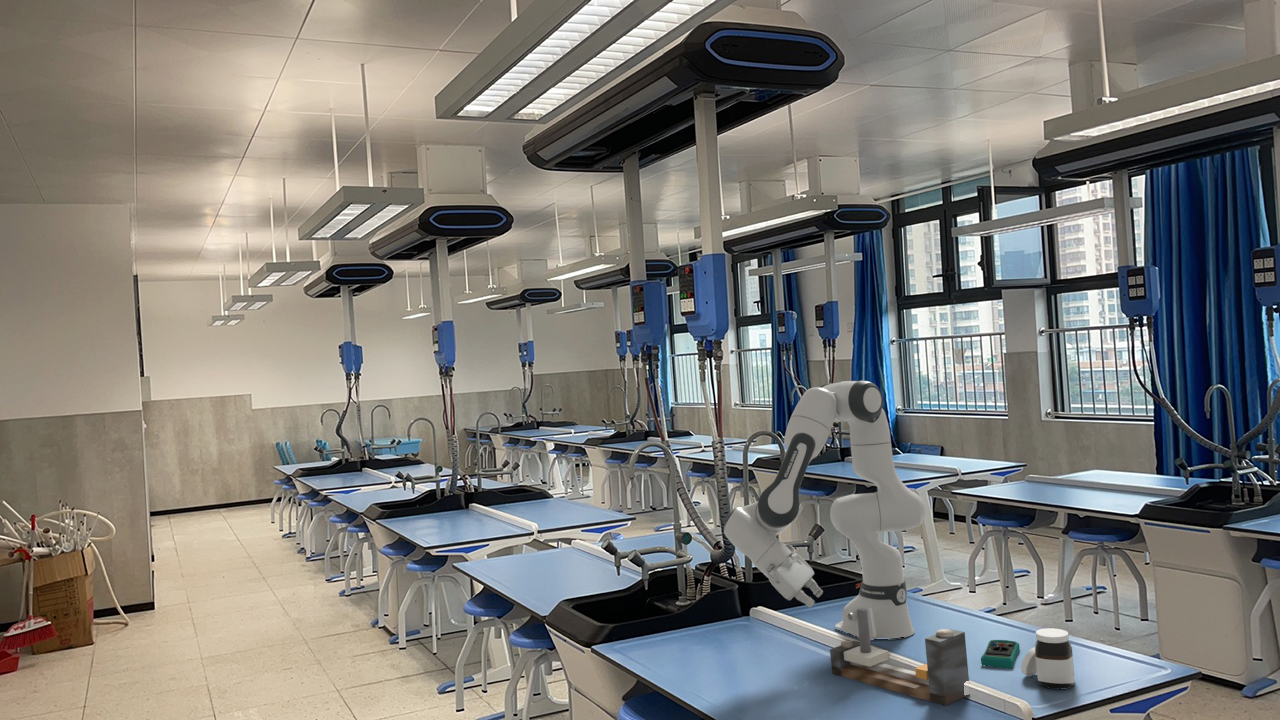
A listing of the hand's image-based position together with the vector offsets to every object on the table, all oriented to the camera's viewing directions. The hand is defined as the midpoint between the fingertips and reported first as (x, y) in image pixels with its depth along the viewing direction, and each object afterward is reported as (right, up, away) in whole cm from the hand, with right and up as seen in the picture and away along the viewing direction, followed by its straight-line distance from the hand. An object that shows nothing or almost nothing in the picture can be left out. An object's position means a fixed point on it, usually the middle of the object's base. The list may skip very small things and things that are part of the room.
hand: (817, 600), depth 231 cm
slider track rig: (+17, -17, -12) cm, 26 cm away
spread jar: (+49, -14, -19) cm, 55 cm away
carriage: (+11, -13, -4) cm, 18 cm away
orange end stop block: (+22, -12, -19) cm, 31 cm away
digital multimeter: (+46, -15, 0) cm, 48 cm away
